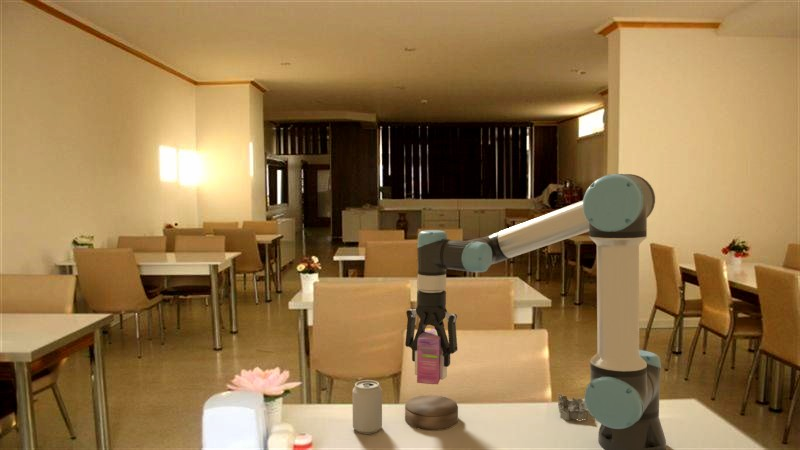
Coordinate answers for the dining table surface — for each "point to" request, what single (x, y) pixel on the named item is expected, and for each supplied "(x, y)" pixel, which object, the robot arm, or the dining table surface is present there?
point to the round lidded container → (431, 413)
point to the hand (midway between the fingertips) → (430, 375)
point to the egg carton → (572, 408)
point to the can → (367, 406)
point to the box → (428, 357)
